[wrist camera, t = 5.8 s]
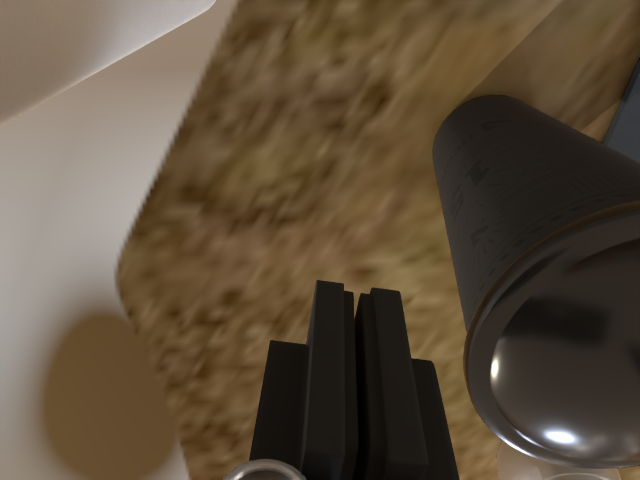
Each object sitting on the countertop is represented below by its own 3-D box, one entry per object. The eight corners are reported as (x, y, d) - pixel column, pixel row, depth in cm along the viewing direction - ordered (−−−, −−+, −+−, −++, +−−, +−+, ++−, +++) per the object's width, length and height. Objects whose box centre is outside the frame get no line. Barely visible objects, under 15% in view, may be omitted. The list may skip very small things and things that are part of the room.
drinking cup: (606, 79, 22) (1652, 621, 4) (534, 235, 26) (951, 855, 8) (429, 41, 21) (846, 496, 4) (382, 207, 25) (489, 808, 8)
